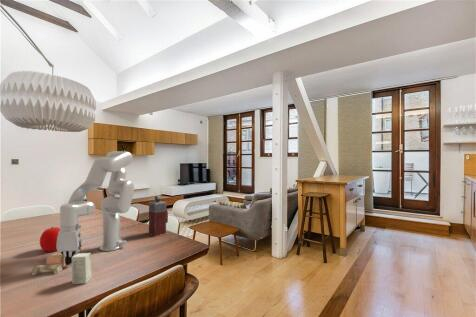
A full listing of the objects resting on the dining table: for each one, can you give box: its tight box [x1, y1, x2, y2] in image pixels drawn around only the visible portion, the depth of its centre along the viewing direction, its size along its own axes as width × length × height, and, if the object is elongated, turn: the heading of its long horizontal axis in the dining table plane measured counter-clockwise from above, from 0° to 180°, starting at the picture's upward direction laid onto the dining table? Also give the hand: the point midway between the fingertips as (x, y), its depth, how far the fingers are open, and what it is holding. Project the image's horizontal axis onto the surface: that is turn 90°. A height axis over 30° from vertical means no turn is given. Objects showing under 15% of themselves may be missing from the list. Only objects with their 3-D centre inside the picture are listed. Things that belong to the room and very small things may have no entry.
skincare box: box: [71, 252, 92, 285], centre depth 106 cm, size 6×4×12 cm
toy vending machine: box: [148, 195, 169, 237], centre depth 172 cm, size 9×11×28 cm
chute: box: [31, 254, 75, 276], centre depth 119 cm, size 11×14×3 cm
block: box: [46, 253, 67, 269], centre depth 119 cm, size 6×6×6 cm
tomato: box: [39, 226, 60, 252], centre depth 141 cm, size 13×11×14 cm
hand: (69, 263), depth 120 cm, fingers closed
